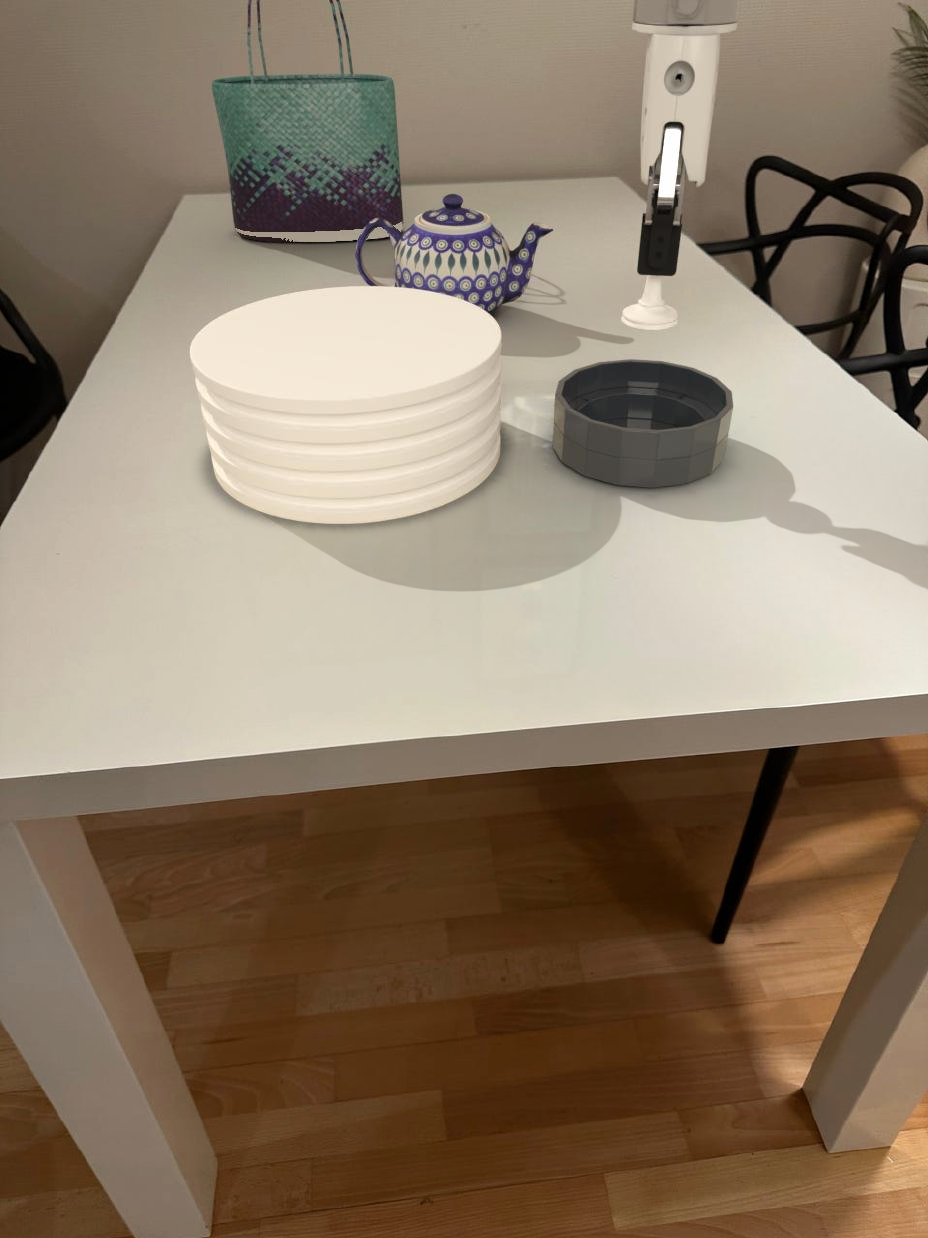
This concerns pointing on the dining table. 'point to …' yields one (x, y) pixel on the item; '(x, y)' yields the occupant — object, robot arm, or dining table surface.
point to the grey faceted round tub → (641, 422)
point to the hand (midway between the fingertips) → (656, 267)
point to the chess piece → (650, 309)
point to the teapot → (458, 255)
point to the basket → (309, 148)
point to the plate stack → (351, 402)
